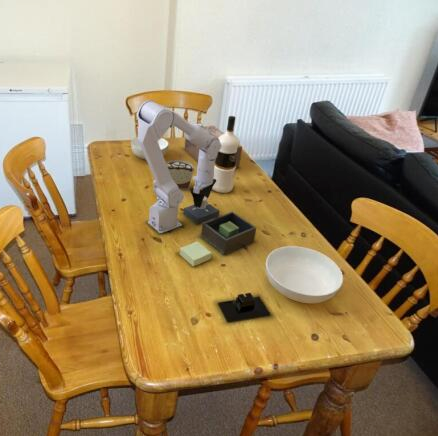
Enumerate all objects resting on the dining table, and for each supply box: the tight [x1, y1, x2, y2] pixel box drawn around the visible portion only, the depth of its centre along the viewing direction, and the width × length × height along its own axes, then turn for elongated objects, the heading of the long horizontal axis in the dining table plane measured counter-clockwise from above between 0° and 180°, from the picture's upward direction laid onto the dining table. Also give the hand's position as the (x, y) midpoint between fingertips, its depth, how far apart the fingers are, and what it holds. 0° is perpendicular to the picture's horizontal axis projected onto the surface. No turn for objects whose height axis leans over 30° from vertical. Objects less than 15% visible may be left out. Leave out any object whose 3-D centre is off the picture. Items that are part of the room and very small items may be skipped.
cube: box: [219, 221, 239, 239], centre depth 135 cm, size 4×4×4 cm
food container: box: [166, 159, 195, 191], centre depth 164 cm, size 12×6×10 cm, turn 84°
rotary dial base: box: [182, 201, 220, 225], centre depth 149 cm, size 10×9×3 cm
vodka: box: [212, 115, 241, 194], centre depth 158 cm, size 9×9×30 cm
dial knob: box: [197, 196, 208, 209], centre depth 148 cm, size 4×4×4 cm
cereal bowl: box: [130, 136, 169, 161], centre depth 186 cm, size 17×17×7 cm
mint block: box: [179, 241, 212, 267], centre depth 128 cm, size 7×7×2 cm
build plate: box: [217, 292, 271, 324], centre depth 110 cm, size 12×7×5 cm, turn 104°
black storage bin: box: [200, 211, 257, 256], centre depth 136 cm, size 13×11×6 cm
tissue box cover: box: [184, 125, 243, 169], centre depth 187 cm, size 26×14×10 cm, turn 21°
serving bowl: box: [265, 245, 344, 304], centre depth 117 cm, size 21×21×7 cm
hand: (201, 202), depth 148 cm, fingers open, 7 cm apart
